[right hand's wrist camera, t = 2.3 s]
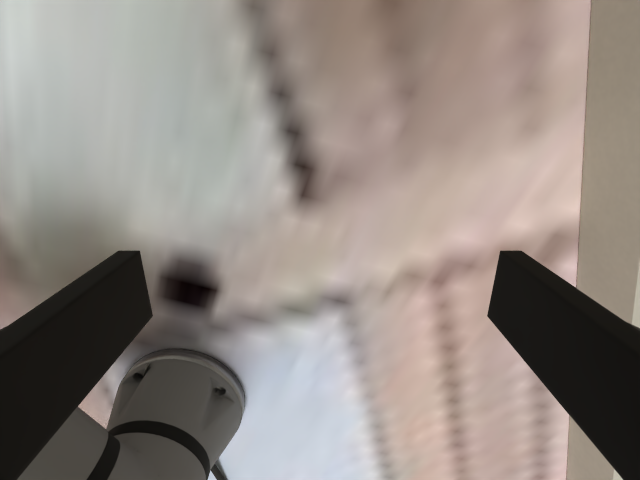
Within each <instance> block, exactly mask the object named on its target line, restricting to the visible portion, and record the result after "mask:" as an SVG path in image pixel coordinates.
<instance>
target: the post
mask: <svg viewBox="0 0 640 480" xmlns="http://www.w3.org/2000/svg"><path fill="white" fill-rule="evenodd" d="M577 289H578V290H580V291H581V292H583V293H584V294H586V295H587V296H589V297H590V298H592V299H593V300H595V301H596V302H597V303H599V304H600V305H602V306H603V307H605V308H606V309H608V310H609V311H611V312H612V313H614V314H615V315H617V316H618V317H620V318H621V319H622V320H624V321H626V322H628V323H630V324H632V325H634V326H636V327H639V328H640V0H592V2H591V21H590V40H589V59H588V78H587V97H586V117H585V136H584V155H583V174H582V193H581V212H580V231H579V250H578V269H577ZM566 480H623V479H622V478H621V477H620V475H619V474H618V473H617V472H616V471H615V469H614V468H613V467H612V466H611V465H610V463H609V462H608V461H607V460H606V459H605V457H604V456H603V455H602V454H601V452H600V451H599V450H598V449H597V448H596V446H595V445H594V444H593V443H592V442H591V440H590V439H589V438H588V437H587V436H586V434H585V433H584V432H583V431H582V430H581V428H580V427H579V426H578V425H577V424H576V422H575V421H574V420H573V419H572V417H571V416H570V421H569V440H568V459H567V478H566Z"/></svg>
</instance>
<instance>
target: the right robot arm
mask: <svg viewBox="0 0 640 480" xmlns="http://www.w3.org/2000/svg"><path fill="white" fill-rule="evenodd" d="M152 316H153V315H152V310H151V305H150V300H149V295H148V290H147V285H146V280H145V275H144V270H143V265H142V260H141V255H140V251H118V252H116V253H115V254H113V255H112V256H110V257H109V258H107V259H106V260H104V261H103V262H101V263H100V264H99V265H97V266H96V267H94V268H93V269H91V270H90V271H88V272H87V273H85V274H84V275H82V276H81V277H79V278H78V279H76V280H75V281H73V282H72V283H71V284H69V285H68V286H66V287H65V288H63V289H62V290H60V291H59V292H57V293H56V294H54V295H53V296H51V297H50V298H48V299H47V300H45V301H44V302H43V303H41V304H40V305H38V306H37V307H35V308H34V309H32V310H31V311H29V312H28V313H26V314H25V315H23V316H22V317H20V318H19V319H18V320H16V321H15V322H13V323H12V324H10V325H9V326H7V327H5V328H3V329H0V480H207V479H208V476H209V473H210V470H211V471H212V473H213V474H214V476H215V477H216V479H217V480H225V479H224V478H223V476H222V474H221V473H220V471H219V470H218V468H217V466H216V465H215V462H216V461H217V459H218V458H219V457H220V455H221V454H222V452H223V451H224V449H225V448H226V446H227V445H228V443H229V442H230V441H231V439H232V438H233V436H234V435H235V433H236V432H237V430H238V428H239V426H240V423H241V419H242V416H243V412H244V407H245V397H244V392H243V389H242V387H241V384H240V383H239V381H238V379H237V378H236V376H235V375H234V374H233V373H232V372H231V371H230V370H229V369H228V368H227V367H226V366H225V365H223V364H222V363H220V362H219V361H217V360H216V359H214V358H212V357H210V356H208V355H205V354H202V353H199V352H196V351H191V350H184V349H167V350H161V351H157V352H154V353H151V354H149V355H147V356H145V357H143V358H141V359H140V360H139V361H137V362H136V363H135V364H134V365H133V366H132V368H131V369H130V370H129V372H128V373H127V374H126V376H125V377H124V378H123V380H122V381H121V383H120V385H119V388H118V391H117V394H116V398H115V401H114V405H113V408H112V412H111V415H110V419H109V422H108V426H107V429H105V428H104V427H102V426H101V425H100V424H99V423H97V422H96V421H95V420H94V419H92V418H91V417H90V416H89V415H87V414H86V413H85V412H84V411H82V410H81V409H80V408H79V407H78V405H79V404H80V403H81V402H82V401H83V399H84V398H85V397H86V396H87V395H88V393H89V392H90V391H91V390H92V389H93V387H94V386H95V385H96V384H97V383H98V381H99V380H100V379H101V378H102V376H103V375H104V374H105V373H106V372H107V370H108V369H109V368H110V367H111V366H112V364H113V363H114V362H115V361H116V360H117V358H118V357H119V356H120V355H121V354H122V352H123V351H124V350H125V349H126V348H127V346H128V345H129V344H130V343H131V341H132V340H133V339H134V338H135V337H136V335H137V334H138V333H139V332H140V331H141V329H142V328H143V327H144V326H145V325H146V323H147V322H148V321H149V320H150V319H151V317H152ZM487 316H488V317H489V319H490V320H491V321H492V322H493V323H494V325H495V326H496V327H497V328H498V329H499V331H500V332H501V333H502V334H503V335H504V337H505V338H506V339H507V340H508V341H509V343H510V344H511V345H512V346H513V348H514V349H515V350H516V351H517V352H518V354H519V355H520V356H521V357H522V358H523V360H524V361H525V362H526V363H527V364H528V366H529V367H530V368H531V369H532V370H533V372H534V373H535V374H536V375H537V376H538V378H539V379H540V380H541V381H542V383H543V384H544V385H545V386H546V387H547V389H548V390H549V391H550V392H551V393H552V395H553V396H554V397H555V398H556V399H557V401H558V402H559V403H560V404H561V405H562V407H563V408H564V409H565V410H566V411H567V413H568V414H569V415H570V416H571V417H572V419H573V420H574V421H575V422H576V424H577V425H578V426H579V427H580V428H581V430H582V431H583V432H584V433H585V434H586V436H587V437H588V438H589V439H590V440H591V442H592V443H593V444H594V445H595V446H596V448H597V449H598V450H599V451H600V452H601V454H602V455H603V456H604V457H605V459H606V460H607V461H608V462H609V463H610V465H611V466H612V467H613V468H614V469H615V471H616V472H617V473H618V474H619V475H620V477H621V478H622V479H623V480H640V328H639V327H636V326H634V325H632V324H630V323H628V322H626V321H624V320H622V319H621V318H620V317H618V316H617V315H615V314H614V313H612V312H611V311H609V310H608V309H606V308H605V307H603V306H602V305H600V304H599V303H597V302H596V301H595V300H593V299H592V298H590V297H589V296H587V295H586V294H584V293H583V292H581V291H580V290H578V289H577V288H575V287H574V286H572V285H571V284H569V283H568V282H567V281H565V280H564V279H562V278H561V277H559V276H558V275H556V274H555V273H553V272H552V271H550V270H549V269H547V268H546V267H544V266H543V265H541V264H540V263H539V262H537V261H536V260H534V259H533V258H531V257H530V256H528V255H527V254H525V253H524V252H522V251H500V255H499V260H498V265H497V270H496V275H495V280H494V285H493V290H492V295H491V300H490V305H489V310H488V315H487Z"/></svg>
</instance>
